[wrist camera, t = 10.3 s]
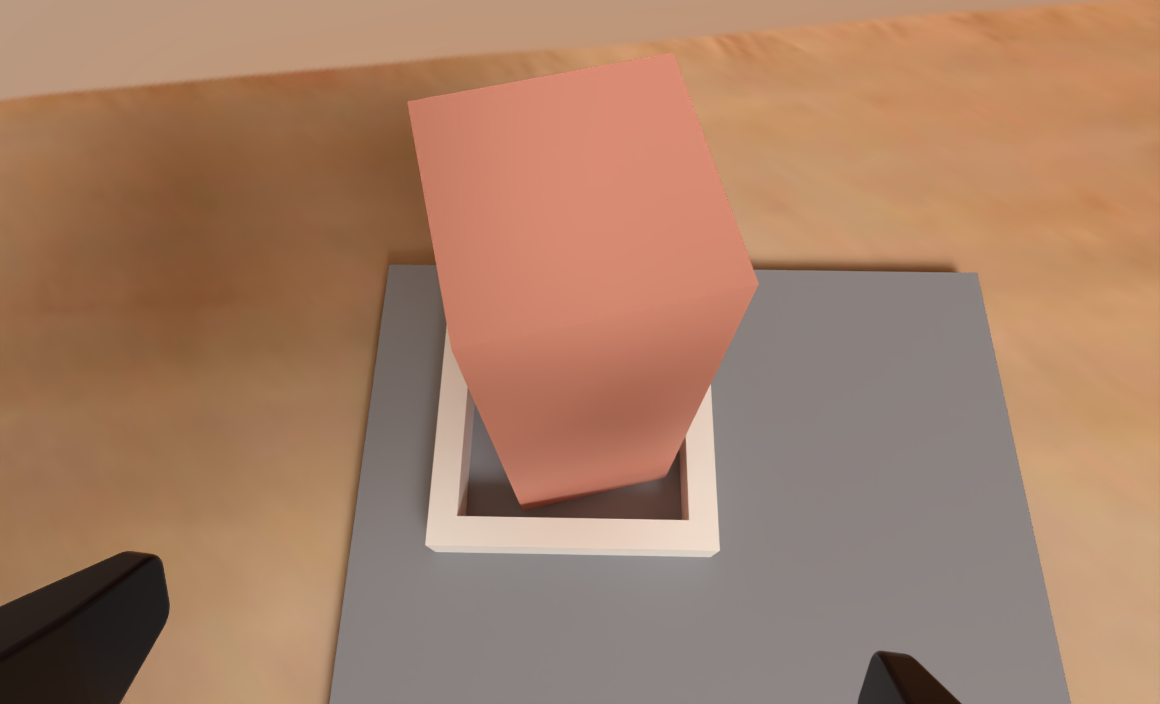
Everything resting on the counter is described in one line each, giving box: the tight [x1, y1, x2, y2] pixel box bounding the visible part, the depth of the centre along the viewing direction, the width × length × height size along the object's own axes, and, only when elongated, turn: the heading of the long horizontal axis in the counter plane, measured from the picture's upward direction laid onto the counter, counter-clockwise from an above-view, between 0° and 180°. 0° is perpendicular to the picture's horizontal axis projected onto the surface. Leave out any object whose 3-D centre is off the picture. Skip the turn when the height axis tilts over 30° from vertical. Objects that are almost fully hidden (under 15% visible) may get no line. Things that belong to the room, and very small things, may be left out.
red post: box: [407, 53, 759, 511], centre depth 17 cm, size 4×4×12 cm
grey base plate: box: [329, 264, 1071, 704], centre depth 21 cm, size 20×15×2 cm
